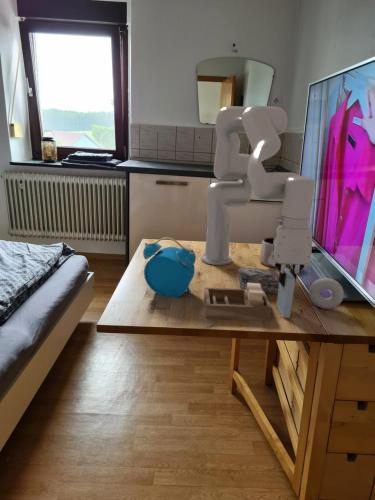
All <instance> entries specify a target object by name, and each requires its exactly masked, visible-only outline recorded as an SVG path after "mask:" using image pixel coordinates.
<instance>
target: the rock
mask: <svg viewBox="0 0 375 500" xmlns="http://www.w3.org/2000/svg"><path fill="white" fill-rule="evenodd" d="M237 272H238V274H239V275H238V280H239V281H238V283H239V284H238V285H239V286H238V287H239V289H247V283H260V285H261V288H262V290H264V292H265V294H267V293H268V294H275V295H278V289H279V273H278V272H277V270H276V269H274V268H273V267H269V268H268V269H267V270H266V269H262V268H258V267H240V268H239V269H237Z"/></svg>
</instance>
